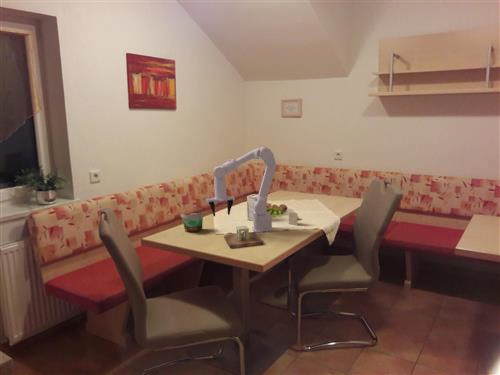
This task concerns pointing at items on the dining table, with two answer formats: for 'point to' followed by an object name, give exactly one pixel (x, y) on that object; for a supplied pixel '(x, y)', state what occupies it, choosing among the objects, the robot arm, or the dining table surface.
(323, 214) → the dining table surface
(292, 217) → the architectural model
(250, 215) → the syrup box
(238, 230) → the pale slotted block
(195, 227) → the food container
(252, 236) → the serving board
